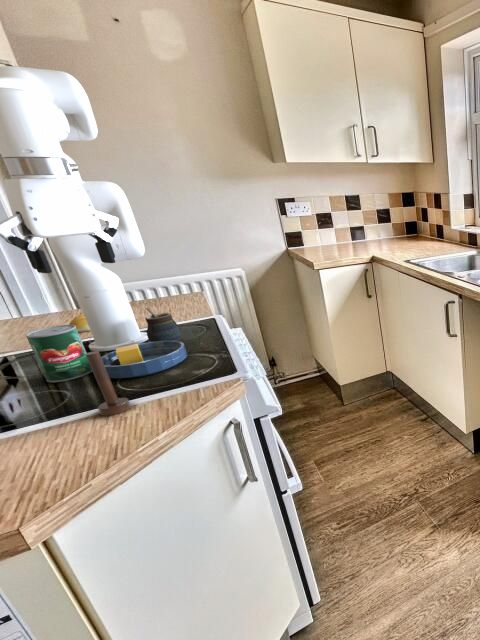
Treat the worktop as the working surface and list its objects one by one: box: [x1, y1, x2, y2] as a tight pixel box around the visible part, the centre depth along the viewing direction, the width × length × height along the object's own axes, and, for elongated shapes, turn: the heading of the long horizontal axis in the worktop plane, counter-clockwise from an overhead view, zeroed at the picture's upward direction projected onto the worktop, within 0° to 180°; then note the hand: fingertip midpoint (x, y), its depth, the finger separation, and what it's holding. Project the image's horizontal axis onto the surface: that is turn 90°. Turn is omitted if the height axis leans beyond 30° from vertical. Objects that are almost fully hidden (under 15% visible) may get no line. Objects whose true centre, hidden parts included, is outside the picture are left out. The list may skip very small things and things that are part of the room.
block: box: [115, 344, 143, 365], centre depth 101 cm, size 4×4×4 cm
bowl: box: [101, 340, 188, 379], centre depth 101 cm, size 16×16×4 cm
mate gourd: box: [144, 307, 182, 342], centre depth 114 cm, size 7×8×10 cm
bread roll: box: [68, 314, 91, 333], centre depth 130 cm, size 8×9×4 cm
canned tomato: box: [25, 324, 93, 383], centre depth 96 cm, size 8×8×11 cm
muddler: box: [86, 351, 131, 417], centre depth 79 cm, size 4×4×12 cm
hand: (78, 267), depth 80 cm, fingers open, 9 cm apart
